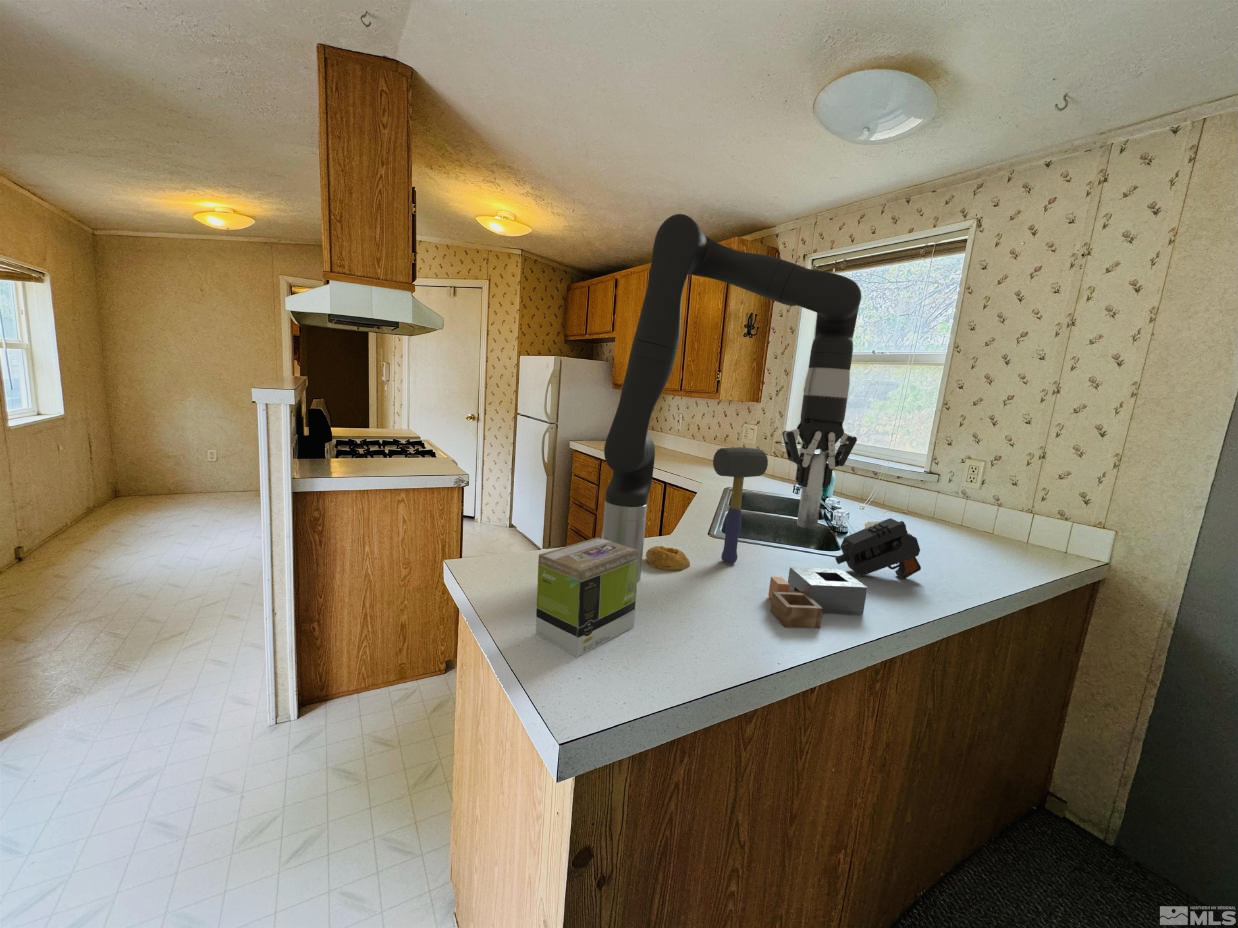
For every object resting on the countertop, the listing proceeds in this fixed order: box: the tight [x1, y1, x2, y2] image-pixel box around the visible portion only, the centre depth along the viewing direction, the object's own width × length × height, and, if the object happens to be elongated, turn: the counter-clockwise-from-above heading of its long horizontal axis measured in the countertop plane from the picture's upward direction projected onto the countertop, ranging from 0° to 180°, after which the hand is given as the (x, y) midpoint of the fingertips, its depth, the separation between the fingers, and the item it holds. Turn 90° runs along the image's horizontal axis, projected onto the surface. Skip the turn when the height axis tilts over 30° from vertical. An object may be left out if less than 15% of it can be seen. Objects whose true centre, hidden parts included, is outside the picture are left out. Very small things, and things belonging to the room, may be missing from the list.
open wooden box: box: [769, 592, 823, 629], centre depth 96 cm, size 7×7×4 cm
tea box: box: [535, 536, 639, 658], centre depth 84 cm, size 15×10×15 cm
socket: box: [787, 566, 868, 616], centre depth 105 cm, size 12×10×6 cm
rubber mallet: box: [712, 446, 769, 566], centre depth 123 cm, size 12×8×30 cm, turn 113°
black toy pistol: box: [834, 517, 922, 580], centre depth 125 cm, size 6×19×15 cm, turn 89°
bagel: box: [645, 545, 691, 571], centre depth 121 cm, size 10×11×5 cm
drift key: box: [767, 576, 801, 600], centre depth 104 cm, size 9×4×4 cm, turn 95°
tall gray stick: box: [796, 451, 827, 530], centre depth 93 cm, size 4×4×14 cm
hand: (812, 486), depth 93 cm, fingers closed on tall gray stick, 3 cm apart
